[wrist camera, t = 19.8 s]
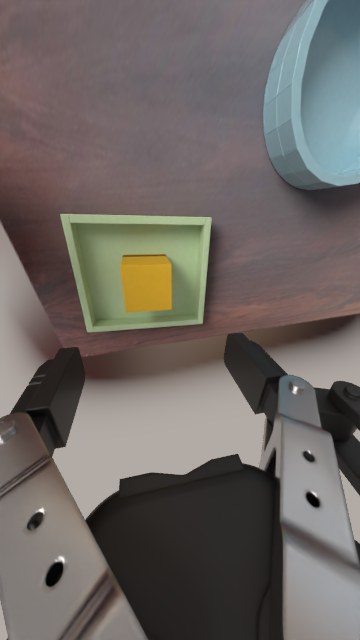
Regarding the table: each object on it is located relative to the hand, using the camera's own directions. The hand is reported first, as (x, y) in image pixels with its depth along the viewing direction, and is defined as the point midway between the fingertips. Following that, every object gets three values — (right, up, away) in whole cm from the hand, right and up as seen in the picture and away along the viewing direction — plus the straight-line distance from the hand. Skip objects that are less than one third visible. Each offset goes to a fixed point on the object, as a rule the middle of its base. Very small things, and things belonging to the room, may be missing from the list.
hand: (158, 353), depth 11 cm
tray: (-4, +8, +15) cm, 17 cm away
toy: (-3, +8, +15) cm, 17 cm away
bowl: (+17, +25, +10) cm, 32 cm away
